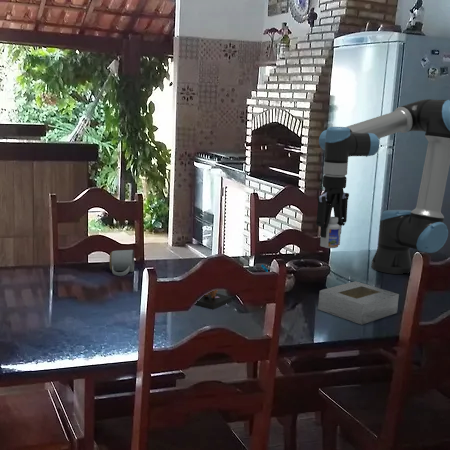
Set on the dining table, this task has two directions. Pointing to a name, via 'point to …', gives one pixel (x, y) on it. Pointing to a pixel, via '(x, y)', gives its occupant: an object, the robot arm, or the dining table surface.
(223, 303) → the figurine
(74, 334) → the dining table surface
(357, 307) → the white flat square box
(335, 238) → the pill bottle
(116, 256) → the ceramic mug
